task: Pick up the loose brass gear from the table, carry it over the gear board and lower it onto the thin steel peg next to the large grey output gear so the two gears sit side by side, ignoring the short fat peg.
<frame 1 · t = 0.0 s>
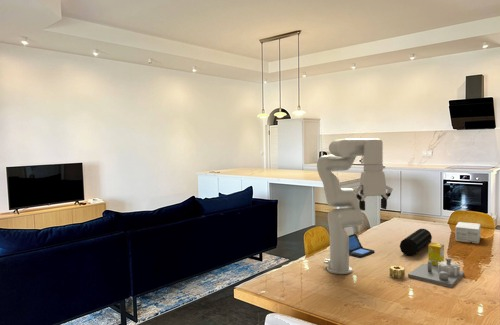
hand: (373, 209, 153), 37 cm above the table, tool pointing down, fingers open, 9 cm apart
gear board: (436, 276, 176), on the table
handheld game console: (358, 253, 216), on the table
roller: (417, 248, 222), on the table
brass gear: (397, 276, 178), on the table
supplement box: (436, 265, 191), on the table
supplement box 2: (467, 239, 239), on the table
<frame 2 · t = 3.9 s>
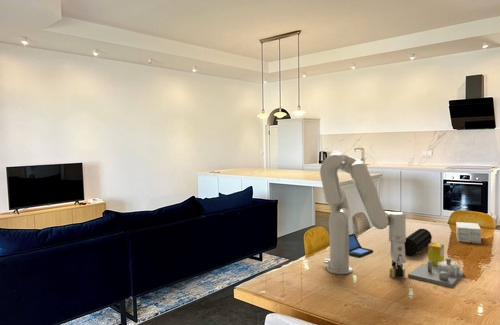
hand: (397, 273, 177), 1 cm above the table, tool pointing down, fingers closed on brass gear, 6 cm apart
brass gear: (397, 276, 178), on the table, touching gripper
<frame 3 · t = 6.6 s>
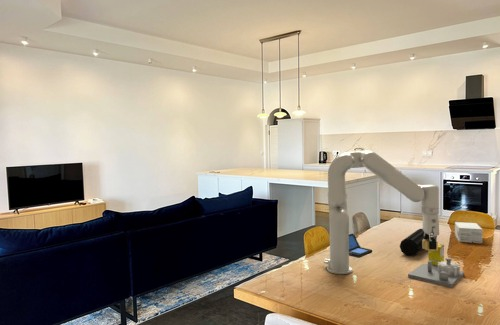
hand: (430, 246, 178), 14 cm above the table, tool pointing down, fingers closed on brass gear, 6 cm apart
brass gear: (430, 248, 178), point 13 cm above the table, touching gripper
when the fingers open (5 cm above the table, at t = 9.3 s): brass gear drops 2 cm, resting on gear board.
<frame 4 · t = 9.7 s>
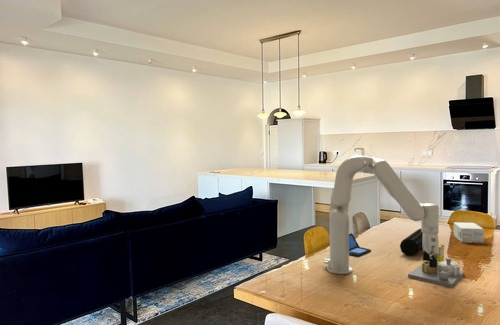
hand: (429, 263, 178), 5 cm above the table, tool pointing down, fingers open, 9 cm apart
brass gear: (429, 271, 178), point 1 cm above the table, touching gear board
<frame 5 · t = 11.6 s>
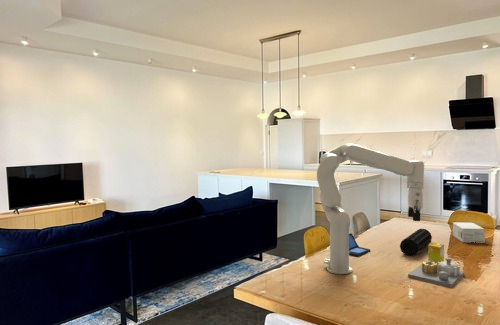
hand: (413, 218, 185), 26 cm above the table, tool pointing down, fingers open, 9 cm apart
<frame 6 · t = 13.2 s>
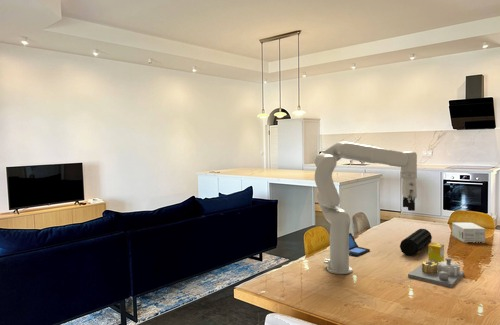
hand: (408, 208, 189), 30 cm above the table, tool pointing down, fingers open, 9 cm apart
at the end: brass gear 0.1 cm from the target spot, point 1.5 cm above the table; brass gear tilted 0°; the gripper is holding nothing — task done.
